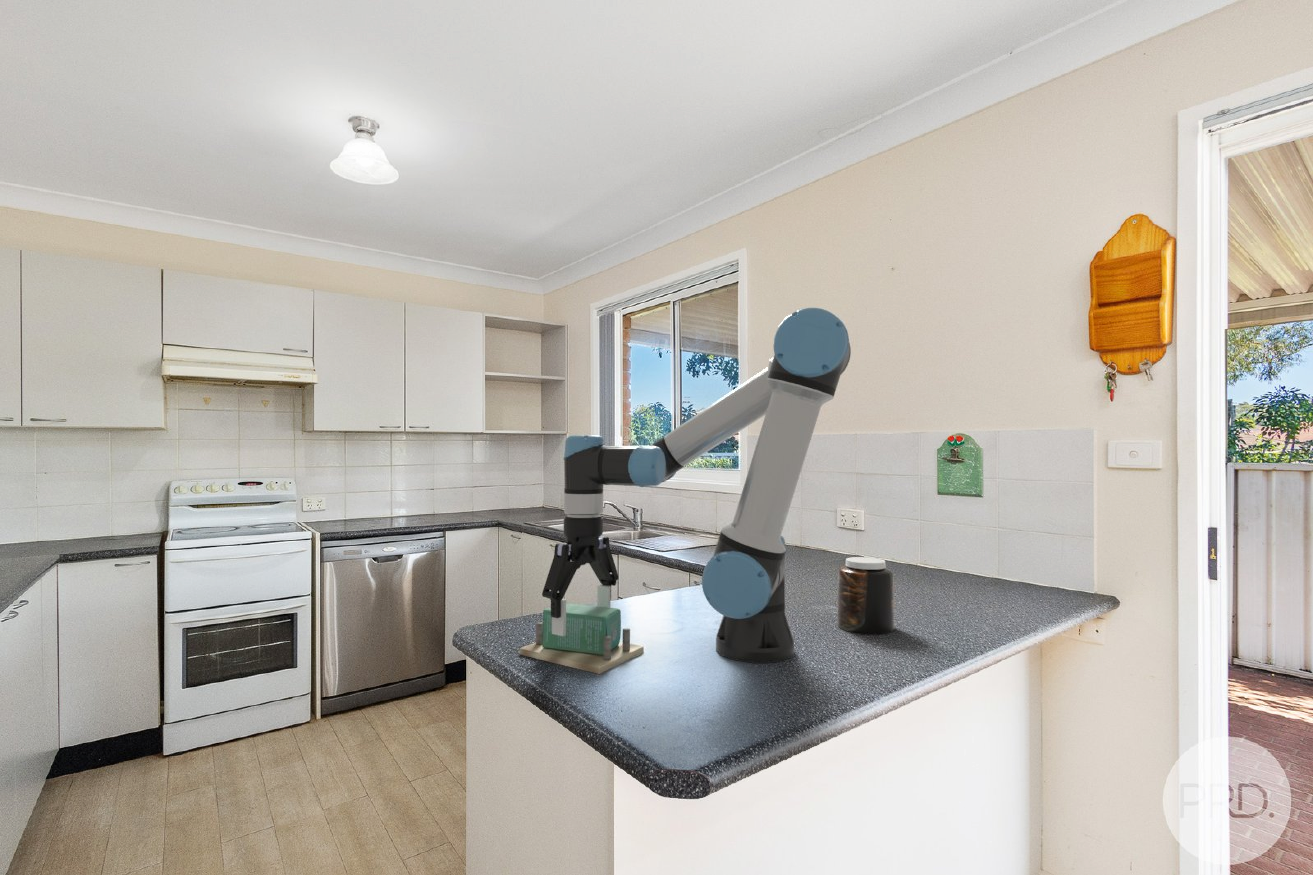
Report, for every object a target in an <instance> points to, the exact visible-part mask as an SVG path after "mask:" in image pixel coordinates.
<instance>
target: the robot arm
mask: <svg viewBox="0 0 1313 875" xmlns="http://www.w3.org/2000/svg"><path fill="white" fill-rule="evenodd" d="M772 346H773V354H774V356H773V357H772V358H771V359H769V362H768V366H767V367H766V368H765V369H763V370H762V371H760V372H759V373H757V374H756V375H754V376H753V377H751V378H749V379H748V380H747V381H745V382H743V383H742V384H740V385H739V386H738V387H736V388H735V389H733V390H731V391H730V392H728V393H727V394H725V395H723V396H722V397H721V398H719V399H718V400H716V401H715V402H713V403H711V404H710V405H709V406H707V407H706V408H704V409H703V410H701V411H699V412H698V413H697V414H695V415H693V416H692V417H691V418H689V419H687V420H686V421H684V422H683V423H682V424H680V425H678V426H677V427H675V428H674V429H673V430H671V431H670V432H668V433H666V434H665V435H664V436H662V437H661V438H660V439H658V440H656V441H655V442H653V443H652V444H650V445H644V444H643V445H607V444H606V445H605V441H604V437H603V436H602V435H593V434H592V435H589V434H587V435H585V434H584V435H583V434H581V435H578V434H576V435H573V434H571V435H569V436H567V438H566V439H565V442H564V443H565V444H564V456H563V461H564V462H563V464H564V470H563V471H564V490H563V492H564V495H563V496H564V498H563V499H564V500H563V501H564V502H563V503H564V504H563V513H564V514H565V516H564V518H563V535H564V536H565V537H566V539H567V541H566V544H565V543H556V544H555V545H554V552H553V554H554V555H553V558H552V562H551V564H550V568H549V570H548V574H547V576H546V581H545V584H544V586H543V590H542V593H541V595H542V598H546V599H550V600H549V601H550V607H551V617H552V634H555V635H559V636H565V635H566V603H567V599H566V598H564V596H565V595H566V593H567V591H568V588H569V587H570V584H571V582H572V580H573V578H574V576H575V574H576V572H577V570H578V569H580V568H581V566H585V565H586V564H589V566H590V567H591V569H592V571H593V573H594V575H595V576H596V577H597V579H598V580H599V582H600V584H598V585H597V595H596V596H597V600H596V602H597V603H596V605H597V606H598V607H608V608H611V600H612V586H616V585H617V581H618V580H619V573H618V570H617V566H616V565H615V561H614V556H613V554H612V551H611V548H610V546H611V545H610V537H608V536H603V534H604V533H603V532H604V519H603V518H604V517H603V516H601V515H602V514H603V513H604V486H610V485H611V486H625V487H626V486H630V487H634V486H635V487H640V488H643V487H656V486H657V487H658V486H659V485H660V484H661V483H666V481H668V480H670V479H672V478H673V477H674V476H675V475H676V474H677V472H679V471H680V470H682V469H683V468H684V467H685V466H687V465H689V464H690V463H692V462H693V461H696V459H697V460H698V458H700V457H702V456H703V455H705V454H706V453H708V452H709V451H712V450H713V449H715V447H717V446H718V445H720V444H722V443H724V442H725V441H727V440H729V439H730V438H732V437H733V436H735V435H736V434H737V433H738V434H739V432H741V431H742V430H743V429H746V428H747V427H749V426H750V425H752V424H753V423H755V422H757V421H758V420H760V419H761V418H763V417H764V420H763V422H762V425H761V428H760V432H759V436H758V438H757V442H756V444H755V447H754V452H753V455H752V458H751V462H750V464H749V468H748V471H747V474H746V478H745V481H744V484H743V488H742V490H741V494H740V498H739V500H738V503H737V507H736V510H735V513H734V514H735V515H734V517H733V520H732V522H731V523H730V524H728V525H725V526H724V527H722V528H721V531H720V534H719V536H718V540H717V543H716V545H715V549H714V552H713V556H712V557H711V558H710V559H709V560H708V562H707V564H706V565H705V566H704V569H703V572H702V577H701V588H702V592H703V595H704V597H705V599H706V600H707V602H708V604H709V605H710V606H711V607H712V608H713V610H715V611H716V612H717V613H719V614H721V615H722V619H721V622H720V624H719V627H718V631H717V633H716V638H715V650H716V652H717V653H718V654H720V655H721V656H723V657H725V658H727V659H732V660H734V661H739V662H746V663H759V664H760V663H761V664H762V663H765V664H766V663H776V662H782V661H785V660H788V659H790V658H792V657H793V656H794V655H795V640H794V636H793V634H792V631H791V627H790V624H789V621H788V617H787V615H786V553H787V548H786V541H785V537H784V536H782V532H783V531H784V526H785V522H786V520H787V517H788V514H789V510H790V507H791V504H792V501H793V499H794V498H793V497H794V495H795V491H796V488H797V485H798V481H799V479H800V475H801V472H802V470H803V465H804V463H805V460H806V456H807V452H808V449H809V447H810V443H811V440H812V437H813V434H814V431H815V428H816V425H817V420H818V418H819V414H820V411H821V407H823V405H824V404H827V403H828V402H829V401H832V400H833V399H834V397H835V394H836V391H837V388H838V385H839V381H840V377H841V376H842V374H843V373H844V372H845V371H846V369H847V367H848V365H849V362H850V359H851V348H852V347H851V344H850V338H849V333H848V330H847V328H846V326H845V324H844V322H843V321H842V320H841V319H840V318H839V317H838V316H836V315H835V314H833V313H832V312H830V311H828V310H827V309H823V308H819V307H805V308H801V309H798V310H796V311H794V312H792V313H791V314H789V315H788V316H786V317H785V318H784V319H783V320H782V321H781V323H780V324H779V325H778V327H777V329H776V331H775V335H774V339H773V345H772ZM566 515H567V516H566Z"/></svg>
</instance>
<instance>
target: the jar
mask: <svg viewBox="0 0 1313 875" xmlns="http://www.w3.org/2000/svg"><path fill="white" fill-rule="evenodd" d="M886 565H887V564H886V560H885V559H882V558H877V557H876V558H875V557H867V556H865V557H864V556H854V557H853V556H852V557H847V558H845V565H843V566H841V567H840V568H838V572H837V573H838V574H837V627H838V628H840V629H841V630H843V631H846V632H850V633H856V634H863V635H886V634H890V633H892V632H893V631H894V630H895V589H894V588H895V581H894V580H895V578H894V572H893V571H892V569H889V568H887V566H886Z"/></svg>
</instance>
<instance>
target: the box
mask: <svg viewBox="0 0 1313 875" xmlns="http://www.w3.org/2000/svg"><path fill="white" fill-rule="evenodd" d="M621 612H622V611H621V609H620V608H614V607H610V608H608V607H598V606H596V605H587V604H581V603H580V604H578V603H577V604H576V603H567V602H566V635H565V636H559V635H555V634H552V617H551V606H548V607H547V608H544V609H543V612H542V616H543V617H542V623H543V635H542V647H543V648H552V649H559V650H567V651H575V652H583V653H590V654H598V655H603V637H604V636H611V651H612V650H613V649H614V648H615V647H617V646H618V645H619V642H621V635H622V634H621V632H622V617H621Z"/></svg>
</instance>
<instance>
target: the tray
mask: <svg viewBox="0 0 1313 875" xmlns="http://www.w3.org/2000/svg"><path fill="white" fill-rule="evenodd" d="M542 635H543V621H542V622H536V623H535V642H533V643H530V644H527V645H525V646H523V647H520V648H519V655H521V656H524V657H529V658H533V659H536V660H540V661H541V660H542V661H546V662H548V663H553V664H557V665H562V666H566V667H570V668H574V669H578V670H582V671H585V672H589V673H590V672H591V673H594V674H598V675H601V674H602V673H605V672H607V671H608V670H610V669H612V668H615V667H617V666H619V665H621V664H623V663H625V662H627V661H630V660H631V659H633V658H636V657H637V656H640V655H641V654H643V653H645V652H644V649H645V647H644V646H643V645H640V644H639V645H638V644H635V643H631V629H630V628H622V641H620V642H619V645H618V646H617V647H615V648H614V649H613V650H612V651H611V636H604V637H603V655H598V654H590V653H583V652H575V651H567V650H559V649H552V648H543V647H542Z"/></svg>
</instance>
